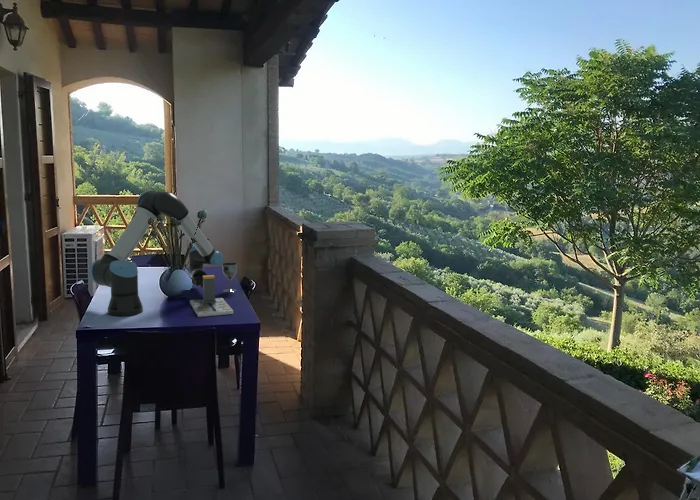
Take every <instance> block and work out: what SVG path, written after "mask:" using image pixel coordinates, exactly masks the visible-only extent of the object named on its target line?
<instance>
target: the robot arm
mask: <svg viewBox="0 0 700 500" xmlns="http://www.w3.org/2000/svg"><path fill="white" fill-rule="evenodd" d="M136 202H137V204H136V207H135V211H136V213H135V215H133V218H132V219H131V221H130V222H129V224H128V225H127V226H126V228H125V229H124V231H123V232H122V234H121V235H120V236H119V238H118V240H117V241H116V242H115V244H114V246H113V247H112V248H111V249H110V251H109V252H105V253H104V254H103V255H102V256H101V257H100V259H97V260H95V261H93V262H92V263H91V265H90V267H89V272H88V273H89V277H90V279H91V281H93V283H95V284H98V285H99V286H105V287H108V288H110V300H109V302H108V306H107V315H109V314H110V316H113V317H128V316H135V315H138V314H141V313H143V311H144V309H143V308H144V307H143V303H142V301H141V299H140V296H139V270H138V266H137V264H136V262H133V261H130V260H128V259H129V258H130V257H131V255H132V253H133V252H134V250H135V249H136V247H137V246H138V244H139V243H140V241H141V240H142V238H143V237H144V235H145V234H146V233H147V231H148V230H149V228H150V226H151V225H149V224H148V220H149V219H150V218H152V219H153V220H155V221H156V220H157V219H158V216H160V217H161V216H165V217H167V218H168V219H170V217H174V218H176V219H177V220H180V221H179V222H181V225H179V226H178V227H179V229H180V230H181V231H182V233H183V234H184V235H185V237H186V238H187V239H188V240H189V242H190V243H191V244H192V240H191V238H192V239H193V238H194V239H196V241H197V242H195V243H193V244H192V245H193V246H192V248H191V249H190V252H189V251H188V258H189V259H188V262H189V265H188V267H189V268H188V274H189V273H190V275H191V276H192V278H191V279H192V283H191V284H193V285H195V286H200V288H203V276H205V275H208V274H207V273H206V272H205V271H204V265H209V266H216V267H218V266H221V265H222V263H224V255H223V253H222V252H221V251H217V250H215V248H214V247H213V245H212V244H211V243H210V242H209V240H208V238H207V237H206V236H205V234H204V233H203V232H202V231H201V229H200V227H199V226H198V225H197V224H196V222H195V221H194V219H193V218H192V217H191V215H190V214H189V213H190V211H189V209H188V208H187V206H186V204H184V203H183V202H182V201H181V199H180V198H179V197H178V196H176V195H175V194H174V193H171V192H169V191H159V190H154V189H153V190H146V191H143V192H142V193H140V194H139V196H138V197H137V200H136ZM148 218H149V219H148ZM158 220H159V219H158ZM158 220H157V221H158ZM157 221H156V222H157ZM182 221H183V222H182ZM197 227H198V228H197ZM196 229H197V230H196ZM195 232H196V234H195ZM194 234H195V235H196V236H195V235H194Z"/></svg>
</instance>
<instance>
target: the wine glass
mask: <svg viewBox="0 0 700 500" xmlns="http://www.w3.org/2000/svg"><path fill="white" fill-rule="evenodd" d="M221 268H222V273H223V276H225V278H226V279H227V281H228V285H229V286H228V289H227V288H226V289H223V290H222V291H223V292H225V293H235V292H237V289H235V288H231V286H232V285H231V284H232V280H233V278H234V277H235V276H236V274H237V272H238V262H232V261H230V262H222V263H221Z"/></svg>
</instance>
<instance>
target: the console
mask: <svg viewBox="0 0 700 500" xmlns="http://www.w3.org/2000/svg"><path fill="white" fill-rule="evenodd" d="M202 299H203V298H202ZM202 299H190V300H189V304H190V306H191V308H192V310H193V311H194V312H195V314H196V316H197V318H202V317H203V318H204V317H214V316H215V317H216V316H225V315H226V316H229V315H234V309H232V307H231V306H230V305H229V304H228V302H227V301H226V300H225V299H224V298H223V297H217V298H216V297H215V300H216V303H203V302H202Z"/></svg>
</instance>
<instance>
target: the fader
mask: <svg viewBox="0 0 700 500" xmlns="http://www.w3.org/2000/svg"><path fill="white" fill-rule="evenodd" d="M215 283H216V282H215V275H214V274H207V275H205V276H203V287H202V295H203V296H202V297H203V298H202V302H203V303H216V300H215V298H216V291H215V288H216V287H215Z"/></svg>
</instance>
